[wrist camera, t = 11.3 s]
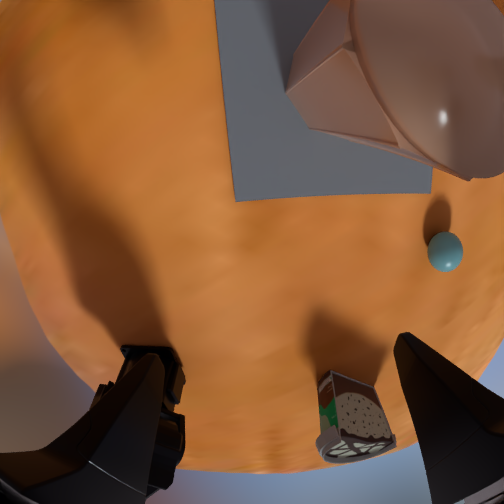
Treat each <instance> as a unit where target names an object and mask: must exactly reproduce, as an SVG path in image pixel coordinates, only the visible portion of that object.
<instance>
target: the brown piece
mask: <svg viewBox="0 0 504 504" xmlns="http://www.w3.org/2000/svg"><path fill="white" fill-rule="evenodd" d="M285 94H286V95H287V96H288V98H289V99H290V100H291V102H292V103H293V105H294V106H295V108H296V109H297V111H298V112H299V114H300V115H301V117H302V118H303V120H304V121H305V123H306V124H307V126H308V127H309V129H310V130H315V131H319V132H322V133H326V134H330V135H333V136H336V137H340V138H343V139H346V140H349V141H351V142H355V143H359V144H363V145H367V146H370V147H374V148H377V149H381V150H384V151H387V152H391V153H394V154H397V155H400V156H403V157H406V158H409V159H412V160H415V161H418V162H421V163H423V164H426V165H429V166H431V167H434V168H437V169H439V170H442V171H444V172H447V173H449V174H452V175H454V176H456V177H459V178H461V179H463V180H466V181H470V180H471V179H472V178H473V177H474V178H490V177H494V176H497V175H499V174H501V173H503V172H504V16H503V14H502V13H501V12H500V10H499V9H498V8H497V6H496V5H495V4H494V3H493V2H492V0H329V2H328V3H327V4H326V6H325V7H324V9H323V10H322V12H321V13H320V15H319V16H318V17H317V19H316V20H315V22H314V23H313V25H312V26H311V28H310V29H309V31H308V32H307V34H306V35H305V37H304V39H303V40H302V42H301V43H300V45H299V46H298V48H297V49H296V51H295V53H294V54H293V60H292V65H291V69H290V74H289V79H288V83H287V88H286V92H285Z"/></svg>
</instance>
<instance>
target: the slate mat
mask: <svg viewBox="0 0 504 504" xmlns="http://www.w3.org/2000/svg"><path fill="white" fill-rule="evenodd" d="M328 2H329V0H215V11H216V22H217V32H218V43H219V53H220V63H221V73H222V82H223V92H224V101H225V111H226V120H227V129H228V138H229V147H230V156H231V165H232V174H233V183H234V191H235V200H236V202H241V201H252V200H264V199H277V198H291V197H307V196H326V195H349V194H391V193H428V194H431V183H432V170H433V167H431V166H429V165H426V164H423V163H421V162H418V161H415V160H412V159H409V158H406V157H403V156H400V155H397V154H394V153H391V152H387V151H384V150H381V149H377V148H374V147H370V146H367V145H363V144H359V143H355V142H351V141H349V140H346V139H343V138H340V137H336V136H333V135H330V134H326V133H322V132H319V131H315V130H310V129H309V127H308V126H307V124H306V123H305V121H304V120H303V118H302V117H301V115H300V114H299V112H298V111H297V109H296V108H295V106H294V105H293V103H292V102H291V100H290V99H289V98H288V96H287V95H286V94H285V92H286V88H287V83H288V79H289V74H290V69H291V65H292V60H293V54H294V53H295V51H296V49H297V48H298V46H299V45H300V43H301V42H302V40H303V39H304V37H305V35H306V34H307V32H308V31H309V29H310V28H311V26H312V25H313V23H314V22H315V20H316V19H317V17H318V16H319V15H320V13H321V12H322V10H323V9H324V7H325V6H326V4H327V3H328Z"/></svg>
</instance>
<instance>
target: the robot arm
mask: <svg viewBox="0 0 504 504" xmlns="http://www.w3.org/2000/svg"><path fill="white" fill-rule="evenodd" d="M120 350H121V352H122V354H123V356H124V357H125V360H124V363H123V365H122V367H121V370H120V372H119V375H118V377H117V380H116V382H115V384H114V383H113V382H111V381H109V382H108V384H107V385H106V384H105V385H104V384H100V385H99V387H98V389H97V392H96V394H95V396H94V399H93V402H92V404H91V406H90V409H89V411H88V412H87V413H86V414H85V415H84V416H82V417H81V418H80V419H79V420H78V421H77V422H76V423H75V424H74V425H73V426H71V427H70V428H69V429H68V430H67V431H65V432H64V433H63V434H62V435H60V436H59V437H58V438H56V439H55V440H54V441H53V442H51V443H50V444H49V445H47V446H46V447H44V448H42V449H39V450H35V451H26V452H11V453H0V504H145V501H146V499H147V498H149V497H150V496H151V495H153V494H154V493H155V492H157V491H158V490H159V489H163V490H166V489H167V488H168V487H169V486H170V485H171V484H172V483H173V478H174V472H175V468H176V466H177V465H178V464H179V463H180V461H181V459H182V457H183V454H184V451H185V416H184V415H182V414H177V413H175V412H173V411H174V407H175V404H179V403H180V399H181V394H182V389H183V385H184V384H185V382H186V380H185V375H184V373H183V370H182V368H181V366H180V364H179V363H178V362H177V359H176V357H175V355H174V352H173V350H172V349H171V348H169V347H148V346H128V345H122V346H121V348H120ZM393 352H394V357H395V361H396V365H397V370H398V374H399V378H400V383H401V386H402V390H403V393H404V396H405V399H406V402H407V405H408V408H409V411H410V414H411V418H412V421H413V424H414V428H415V431H416V435H417V438H418V442H419V445H420V449H421V453H422V457H423V461H424V465H425V470H426V475H427V479H428V484H429V489H430V494H431V499H432V504H454V503H456V502H459V501H461V500H463V499H464V501H465V503H464V504H504V399H503V398H502V397H500V396H498V395H497V394H495V393H494V392H492V391H490V390H489V389H487V388H486V387H484V386H483V385H482V384H480V383H479V382H477V381H476V380H475V379H473V378H471V376H469V375H468V374H467V373H465V372H464V371H463V370H461V369H460V368H458V367H457V366H456V365H454V364H453V363H452V362H450V361H449V360H448V359H446V358H445V357H443V356H442V355H441V354H439V353H438V352H436V351H435V350H434V349H432V348H431V347H430V346H428V345H427V344H425V343H424V342H423V341H421V340H420V339H418V338H417V337H415V336H414V335H413V334H411V333H410V332H405V333H400V334H399V335H398V337H397V340H396V343H395V346H394V350H393Z"/></svg>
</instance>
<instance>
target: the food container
mask: <svg viewBox="0 0 504 504" xmlns="http://www.w3.org/2000/svg"><path fill="white" fill-rule="evenodd" d="M317 390H318V402H319V415H320V430H321V435H320V436H319V437H318V438H317V440H316V447H317V449H318V452H319V454H320V456H321V457H323V460H324V461H326V462H328V463H335V464H341V463H351V462H356V461H361V460H365V459H368V458H372V457H375V456H377V455H380V454H383V453H385V452H387V451H389V450H391V449H393V448H395V447H397V446H396V438H395V434H392V431H391V429H390V426H389V423H388V421H387V418H386V416H385V413H384V410H383V408H382V405H381V403H380V400H379V398H378V395H377V393H376V390H375V388H374V387H373V386H370V385H368V384H365V383H362V382H360V381H357V380H355V379H352V378H349V377H347V376H344V375H342V374H339V373H337V372H334V371H332V370H329V371H328V372H327V373H326V374H325V375H324V376H323V377H322V379H321V380H320V381H319V384H318V388H317Z"/></svg>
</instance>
